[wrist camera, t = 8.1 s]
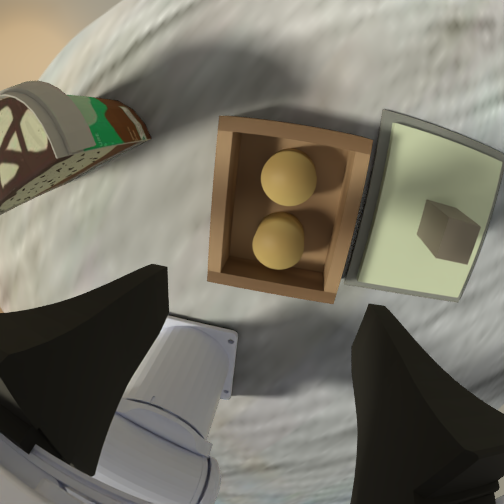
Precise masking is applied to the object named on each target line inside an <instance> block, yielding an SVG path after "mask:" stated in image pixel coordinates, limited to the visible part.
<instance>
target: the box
mask: <svg viewBox="0 0 504 504" xmlns="http://www.w3.org/2000/svg"><path fill="white" fill-rule="evenodd" d="M372 143H373V140H371V139H368V138H365V137H362V136H357V135H353V134H348V133H344V132H339V131H334V130H329V129H323V128H318V127H312V126H307V125H301V124H294V123H288V122H281V121H273V120H266V119H257V118H248V117H238V116H219V125H218V135H217V146H216V157H215V168H214V180H213V193H212V207H211V222H210V238H209V256H208V276H207V281H208V282H213V283H218V284H224V285H229V286H234V287H239V288H244V289H250V290H255V291H260V292H266V293H271V294H277V295H282V296H288V297H294V298H300V299H305V300H311V301H317V302H323V303H330V304H333V303H334V300H335V297H336V294H337V290H338V287H339V283H340V280H341V277H342V273H343V270H344V266H345V262H346V259H347V255H348V251H349V248H350V244H351V240H352V236H353V232H354V228H355V224H356V220H357V216H358V211H359V207H360V203H361V198H362V194H363V189H364V185H365V180H366V175H367V170H368V165H369V160H370V154H371V149H372Z"/></svg>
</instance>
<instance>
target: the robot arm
mask: <svg viewBox="0 0 504 504" xmlns="http://www.w3.org/2000/svg"><path fill="white" fill-rule="evenodd" d="M168 314H169V299H168V271H167V267H165V266H160V265H156V264H150V265H148V266H145V267H143V268H140V269H138V270H136V271H134V272H132V273H129V274H127V275H125V276H123V277H121V278H119V279H117V280H114V281H112V282H110V283H108V284H106V285H103V286H101V287H99V288H96V289H94V290H91V291H89V292H87V293H84V294H82V295H79V296H76V297H74V298H71V299H67V300H64V301H61V302H58V303H54V304H50V305H46V306H42V307H38V308H34V309H29V310H23V311H17V312H9V313H0V504H214V503H215V501H216V498H217V495H218V492H219V489H220V484H221V471H220V468H219V464H218V462H217V460H216V459H215V458H214V457H211V456H209V454H210V451H211V448H212V443H210V442H208V441H206V440H207V437H208V434H209V431H210V428H211V425H212V422H213V419H214V416H215V412H216V409H217V406H218V403H219V400H220V399H224V400H229V399H230V398H231V393H232V384H233V376H234V367H235V358H236V350H237V341H238V333H237V332H236V331H234V330H230V329H225V328H220V327H216V326H211V325H207V324H202V323H198V322H194V321H189V320H185V319H181V318H177V317H173V316H169V315H168ZM229 339H231V340H233V341H231V340H229ZM351 361H352V379H353V388H354V396H355V405H356V414H357V427H358V439H357V458H356V468H355V478H354V485H353V491H352V498H351V503H350V504H504V495H503V496H501V497H499V498H497V499H495V496H494V492H496V491H498V490H499V483H498V480H499V479H500V478H501V477H503V476H504V414H503V413H501V412H499V411H498V410H496V409H494V408H493V407H491V406H490V405H488V404H486V403H485V402H483V401H482V400H480V399H479V398H477V397H476V396H475V395H473V394H472V393H471V392H469V391H468V390H467V389H465V388H464V387H463V386H461V385H460V384H459V383H458V382H457V381H455V380H454V379H453V378H452V377H451V376H450V375H449V374H448V373H446V372H445V371H444V370H443V369H442V368H441V367H440V366H439V365H438V364H437V363H436V362H435V361H434V360H433V359H432V358H431V357H430V356H429V355H428V354H427V353H426V352H425V351H424V350H423V348H422V347H421V346H420V345H419V344H418V343H417V342H416V341H415V339H414V338H413V337H412V336H411V335H410V334H409V333H408V331H407V330H406V329H405V328H404V327H403V326H402V324H401V323H400V322H399V321H398V320H397V319H396V317H395V316H394V315H393V314H392V313H391V312H390V311H389V310H388V309H387V308H386V307H385V306H381V305H375V304H369V305H368V307H367V310H366V312H365V315H364V318H363V320H362V323H361V325H360V328H359V330H358V333H357V335H356V338H355V340H354V342H353V345H352V359H351Z"/></svg>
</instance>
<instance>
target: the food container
mask: <svg viewBox="0 0 504 504" xmlns="http://www.w3.org/2000/svg"><path fill="white" fill-rule="evenodd" d="M150 139H151V136H150V134H149V132H148V129H147V127H146V125H145V123H144V122H143V121H142V120H141V119H140V117H139V116H138V115H137V114H136V112H135V111H134V110H133V109H132V108H130V107H128V106H126V105H125V104H123V103H121V102H119V101H117V100H110V99H102V98H94V97H85V96H75V95H66V94H65V93H64V92H62V91H61V90H60V89H59V88H57V87H55V86H53V85H51V84H49V83H46V82H41V81H29V82H24V83H21V84H18V85H15V86H13V87H10V88H7V89H4V90H2V91H0V215H1V214H3V213H5V212H7V211H9V210H11V209H13V208H15V207H17V206H19V205H21V204H23V203H25V202H27V201H29V200H31V199H33V198H35V197H37V196H40V195H42V194H44V193H46V192H48V191H51V190H53V189H55V188H57V187H60V186H62V185H64V184H66V183H68V182H70V181H71V180H73V179H75V178H77V177H78V176H80V175H82V174H84V173H85V172H87V171H89V170H91V169H92V168H94V167H96V166H98V165H100V164H102V163H104V162H105V161H107V160H109V159H111V158H113V157H115V156H117V155H119V154H121V153H123V152H125V151H127V150H129V149H131V148H133V147H135V146H137V145H139V144H142V143H144V142H146V141H148V140H150Z"/></svg>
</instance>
